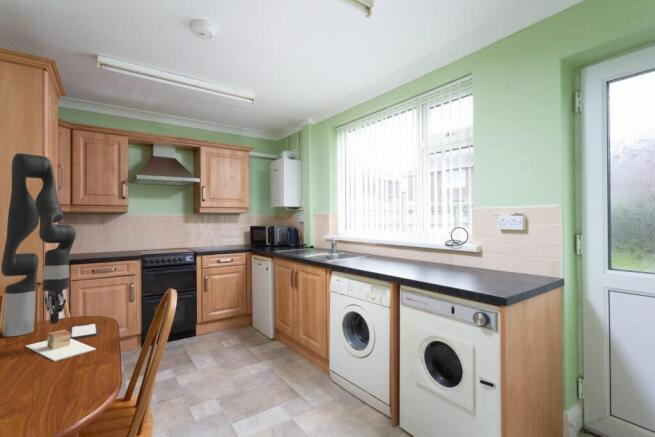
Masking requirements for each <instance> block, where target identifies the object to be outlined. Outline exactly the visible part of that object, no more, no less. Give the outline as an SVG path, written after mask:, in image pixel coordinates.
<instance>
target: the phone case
mask: <svg viewBox="0 0 655 437" xmlns="http://www.w3.org/2000/svg"><path fill="white" fill-rule="evenodd" d="M70 332H71V335H70V338H71V339H73V340H78V339H84V338H90V337H96V336H98V326H97V324H96V323H92V324H91V323H90V324H83V325H76V326H72V327H71V330H70Z"/></svg>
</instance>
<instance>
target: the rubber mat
mask: <svg viewBox="0 0 655 437" xmlns="http://www.w3.org/2000/svg"><path fill="white" fill-rule="evenodd" d="M47 343H48V340H45V341H44V340H43V341H40V342H36V343H31V344H26V345H25V347H26V348H27V349H30V350H31V351H34V352H35V353H37V354H40V356H42V357H45V358H47V359H49V360H51V361H53V362H58V361H60V360H65V359H67V358H72V357H75V356H78V355H79V356H80V355H82V354H86V353H89V352H93V351H96V350H97V348H96V347H93V346H91V345H88V344H86V343H83V342H80V341H77V339H71V338H70V346H66V347H62V348H58V349H54V350H52V349H50V348H48V347H47Z"/></svg>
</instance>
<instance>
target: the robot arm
mask: <svg viewBox="0 0 655 437" xmlns="http://www.w3.org/2000/svg"><path fill="white" fill-rule="evenodd" d="M27 178H28V179H29V178H31V179H41V181H42V187H41V189H40V190H39V192H38V194H37V195H36V198H35V199H34V197H33V196H32V194H31V193H30V191H29V190H28V186H27ZM63 212H64V211H63V209H62V206H61V204H60V201H59V198H58V194H57V186H56V179H55V173H54V167H53V164H52V161H51V160H50V159H49V157H47V156H45V155H44V156H43V155H36V154H30V153H29V154H28V153H16V154H14V156H13V158H12V162H11V192H10V200H9V207H8V214H7V223H6V224H7V227H6V237H5V238H6V240H5V245H4V249H3V250H4V251H3V254H2V260H1V266H0V267H1V270H0V271H1V274H2V275H3V276H4V277H16V276H18V277H19V276H25V277H24V278H23V279H21V280H19V281H16V282H14V283H10V284H8V285H6V286H5V289H4V290H5V291H4V292H5V293H4V306H3V309H4V310H3V320H2V321H3V325H2V336H3V337H17V336H23V335H27V334H31V333H33V332H34V330H35V329H34V328H35V314H36V313H35V311H36V295H37V294H36V291H37V277H38V270H39V256H38V254H37V253H35V252H34V253H33V252H28V253H27V252H26V253H16V252H17V250H18V248H19V247H20V245H21V244H22V243H23V241H24V240H26V239H27V238H28V237H29V236H30V235H31V234H32V233H33V232H34V231H35V230H36V229H37V228H38V226H39V232H38V235H39V238H40V240H41V241H42V242H44V243H46V244H58V245H57V247H56V248H53V249H48V250H46V252H45V253H44V266H43V272H42V284H41V286H42V287H41V288H42V290H41V291H44V292H47V295H46V297H44V303H45V307H46V311H47V312H48V314H49V324H51V325H54V324H58V323H59V322H60V321H59V319H60V313H61V312H63V309H64V308H65V305H66V302H67V299H64V296H65V295H64V292H63V291H64V290H68V289H69V287H70V285H69V284H70V282H69V280H70V266H69V262H70V253H71V250H72V248H73V245H74V242H75V240H76V236H77V232H76V229H75V228H74V227H73V225H70V224H55V223H59V222H60V221H62V220H63V219H64V213H63Z"/></svg>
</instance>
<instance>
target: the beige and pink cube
mask: <svg viewBox="0 0 655 437" xmlns="http://www.w3.org/2000/svg"><path fill="white" fill-rule="evenodd" d="M70 336H71V330H70V331H69V330H66V329H62V330H61V329H60V330H57V331H53V332H48V333H47V341H48V343H47V347H48V348H50V349H52V350H54V349H58V348H62V347H66V346H70Z"/></svg>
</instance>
